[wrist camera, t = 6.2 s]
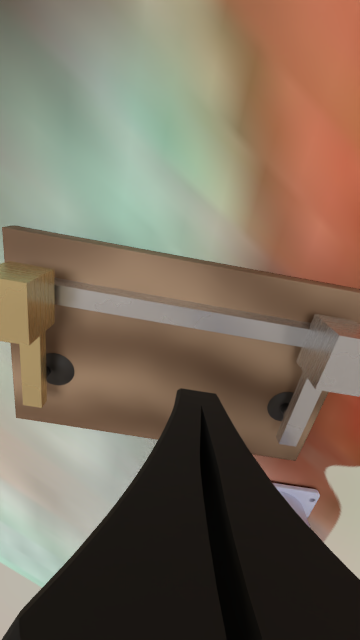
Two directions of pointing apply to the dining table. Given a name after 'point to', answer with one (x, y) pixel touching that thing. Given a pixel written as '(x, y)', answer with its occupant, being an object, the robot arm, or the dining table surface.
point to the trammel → (315, 338)
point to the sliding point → (28, 322)
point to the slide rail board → (168, 341)
